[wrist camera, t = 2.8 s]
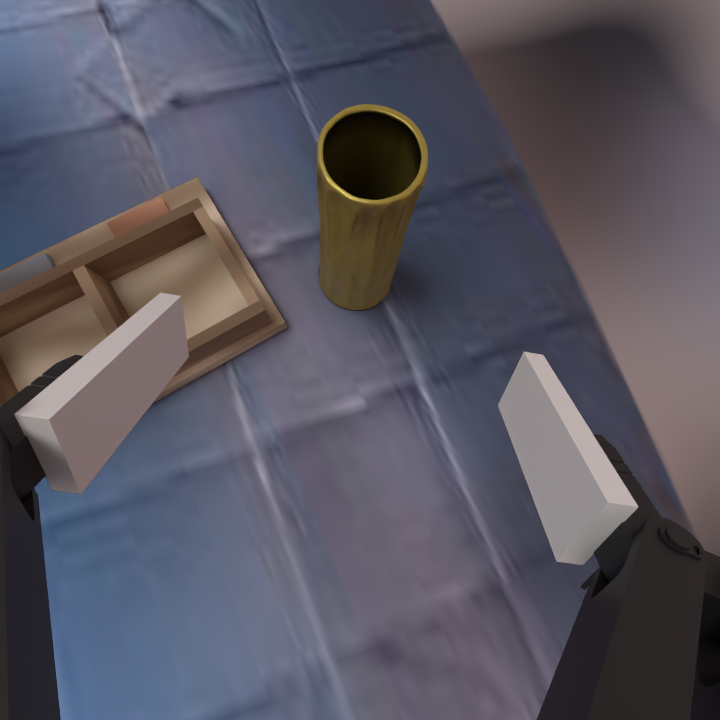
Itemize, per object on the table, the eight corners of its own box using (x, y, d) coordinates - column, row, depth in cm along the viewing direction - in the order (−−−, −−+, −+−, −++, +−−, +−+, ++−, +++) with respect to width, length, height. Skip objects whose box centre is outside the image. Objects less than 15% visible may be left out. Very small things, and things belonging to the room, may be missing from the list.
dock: (-36, 303, 29) (-104, 281, 24) (203, 188, 32) (182, 149, 27) (43, 465, 27) (-14, 472, 23) (287, 327, 30) (279, 310, 26)
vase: (332, 320, 30) (330, 229, 16) (308, 252, 31) (288, 111, 17) (402, 298, 31) (458, 193, 17) (377, 232, 32) (411, 81, 18)
